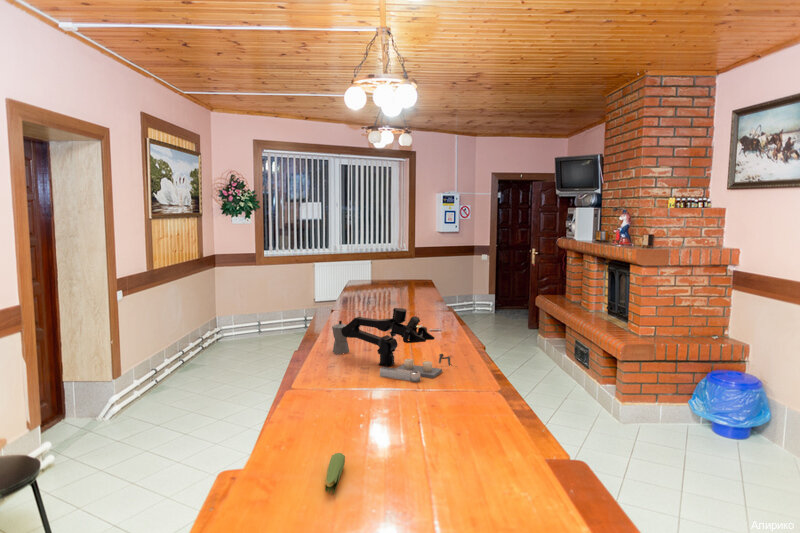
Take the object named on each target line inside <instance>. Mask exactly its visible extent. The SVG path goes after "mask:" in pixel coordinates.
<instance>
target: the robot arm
mask: <svg viewBox="0 0 800 533" xmlns="http://www.w3.org/2000/svg"><path fill="white" fill-rule="evenodd" d="M392 310H393V311H392V312H393V313H392V317H391V318H381V319H377V318H371V317H370V318H368V317H361V316H357V317H356V316H355V317H354V318H353V319H352V320H351V321H350V322H348V323H347V324H346V326H344V327H343V328H342V330H341V332H342V335H343V336H344V337H347V339H349V338H350V339H352V338H353V339H355V338H356V339H359V340H361V341H364V342H366V343H370V344H372V345H376V346H377V347H378V349H377V354H378V355H379V363H378V366H382V367H388V368H390V367H391V366H393V365H394V364H396V362H395V355H394V352H396V349H397V347H398V341H397V339H395V338H394V337H395V336H397V335H398V336H400V337H401V338H402V341H403V343H405V344H414V343H425V342H426V341H431V340H433V341H434V340H435V336H433V335H431V334H430V333H429V332H428V328H427V327H425V326H420V327H419V328H418V325H419V323H420V322H421V319H420V317H417V316H411V317H410V319H409V320H408V322H407V324H403V323H404V322H406V318H407V311H408V310H407V309H406V308H399V307H394V308H393V309H392ZM360 327H370V328H375V329H377V330H378V331H381V332H389V331H390V332H389V334H390V335H388V334H386V335H383V336H378V335H375V334H373V333H370V332H367V331H364V330H361V329H360Z"/></svg>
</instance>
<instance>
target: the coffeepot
mask: <svg viewBox="0 0 800 533" xmlns="http://www.w3.org/2000/svg"><path fill="white" fill-rule="evenodd" d="M342 322H343V321H342V320H339V321H338V324H337V323H336V324H333V325H332V326H331V330H332V333H333V334H332V335H333V338H334V341H333V347H332V348H333V349H332V353H333V352H334V353H335V354H334V353H333V354H334V355H344V354H343V353H346V354H349V353H350V348H349V342H348V340H347V339H348V337H344V336H343V335H342V332H341V330H342V328H343V327H344V326H346V325H347V324H345V323H342Z"/></svg>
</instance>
